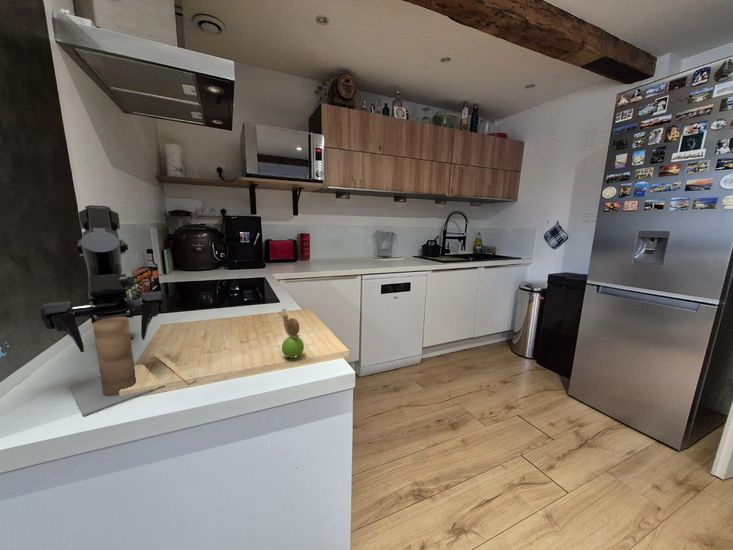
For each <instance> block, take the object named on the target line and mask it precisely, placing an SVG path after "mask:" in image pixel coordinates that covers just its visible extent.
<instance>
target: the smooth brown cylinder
mask: <svg viewBox="0 0 733 550" xmlns="http://www.w3.org/2000/svg"><path fill="white" fill-rule="evenodd" d="M92 329H93V334H94V341H95V348H96V355H97V361H98V368H99V376H101V383H102V390H103V394H104V395H106V396H115V395H119V391H120V390H121V389H125V388H128V387H131V386H133V385H134V384H135V383H136V377H135V369H134V365H135V361H134V354H133V347H132V339H131V336H130V334H131V330H130V320H129V318H127V317H112V318H106V319H102V320H98V321H96V322H94V323H93V324H92Z"/></svg>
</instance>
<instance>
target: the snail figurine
mask: <svg viewBox="0 0 733 550" xmlns="http://www.w3.org/2000/svg"><path fill="white" fill-rule="evenodd" d="M281 311H282V312H284V313H282V318H283V326H284V331H285V332H286V334H287V335H288V337H286V338H285V339H284V340H283V342H282V344H281V351H282V353H283V355H284V356H285V357H286V356H288V357H295V356H298V357H299V356H300V354H301V355H302V353H303V352H304V349H305V346H304V345H305V344H304V341H303V340H302V338H300V335H299V333H300V323H299V322H298V320H297V319H296V318H294V317H290V318H289V314H287V312H286V311H287V308H284V309H283V308H282V310H281ZM288 357H287V358H288Z"/></svg>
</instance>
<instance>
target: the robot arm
mask: <svg viewBox="0 0 733 550" xmlns="http://www.w3.org/2000/svg"><path fill="white" fill-rule="evenodd" d="M84 208H85V209H82V210H81V211H78V218H79V225H80V229H81V230H84V231H83V232H82V234H81V235H82V236H81V238H80V239H79V240H78V241H77V245H76V246H77V251H78V254H79V256H81V257H82V256H83V258H84V261H85V264H86V268H87V277H88V287H87V295H88V296H87V298H88V305H83V306H82V305H81V306H74V307H73V303H72V300H67V301H59V302H49V303H44V305H42V306H41V308H40V318H41V320H42V322H43V323H44V325H45V327H46V329H49V330H56V331H57V332H65V333H66V334H67V335H68V336H69V337H70V338H71V339H72V340H73V342H74V343H75V345H76V347H77V348H78V350H79V352H80V353H83V352H85V347H84V346H85V345H84V342H83V340H82V339H83V338H82V336H81V331H80V329H79V325H78V322H77V320H76V318H81V317H86V316H87V317H88V316H90V321H91V324H92V325H93V323H94V322H96V321H98V320H102V319H106V318H112V317H127V318H128V319H130V318H131V319H132V318H134V317H135V316H136V314H137V313H136V310H140V309H141V321H140V322H141V323H140V324H141V326H140V331H141V332H140V333H141V334H140V335H141V340H142V341H145V339H146V335H147V333H148V330H149V329H148V328H149V326H150V323H151V321H152V319H153V318H154V317H158V316H159V314H161V313H163V312H164V311H165V304H166V299H165V295H164V293H163V292H162V291H160V290H159V291H150V292H149V291H148V292H141V299H134V300H133V298H132V297H131V296H128V293H127V288H134V287H135V280H134V274H133V270H127V271H123V268H122V255H125V254H126V252H127V251H129V248H128V247H129V246H128V244H127V243H125V241H124V239H120V237H119V236H120V235H119V233H118V230H121V224H120V217H119V213H118V212H116V211H114V210H111V207H110V206H107V205H92V204H90V205H89V204H88V205H85V207H84ZM130 336H131V340H133V339H134V336H133V335H132V334H131V333H130Z"/></svg>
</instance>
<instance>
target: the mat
mask: <svg viewBox="0 0 733 550" xmlns="http://www.w3.org/2000/svg"><path fill="white" fill-rule="evenodd" d="M135 365H136V364H134V367H135ZM68 389H69V391H70V392H71V395H72V397H73V399H74V401H75V402H76V404H77V406H78V409H79V411H80V412H81V415H82V417H83V418H84V417H88V416H91V415H93V414H95V413H98V412H101V411H103V410H106V409H108V408H111V407H114V406H116V405H118V404H122V403H125V402H127V401H129V400H133V399H135V398H138V397H140V396H144V395H145V394H148V393H151V392H154V391H155V390H153V389H150V390H144V391H140V392H135V393H132V394H128V395H124V396H120V395H115V396H106V395H104V394H103V390H102V383H101V376H100V375H98V376H94V377H91V378H88V379H85V380H81V381H78V382H75V383H72V384H69V385H68Z"/></svg>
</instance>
